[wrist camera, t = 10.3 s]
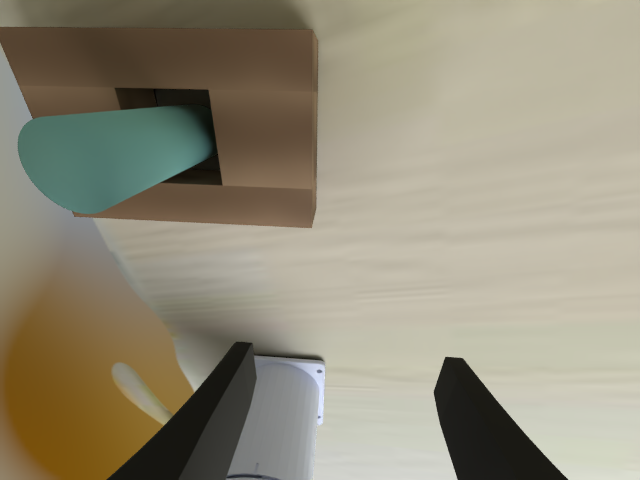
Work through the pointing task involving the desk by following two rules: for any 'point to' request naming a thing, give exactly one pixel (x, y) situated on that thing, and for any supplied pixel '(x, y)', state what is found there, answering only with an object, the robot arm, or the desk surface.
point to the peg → (113, 152)
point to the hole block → (226, 104)
